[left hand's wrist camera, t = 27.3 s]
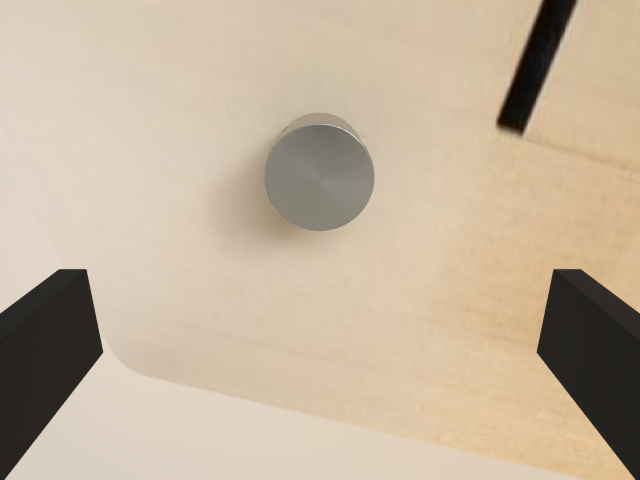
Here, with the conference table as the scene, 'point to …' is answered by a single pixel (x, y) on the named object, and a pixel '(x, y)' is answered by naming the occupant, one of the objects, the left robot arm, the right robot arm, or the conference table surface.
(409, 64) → the conference table surface
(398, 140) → the conference table surface
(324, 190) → the can
